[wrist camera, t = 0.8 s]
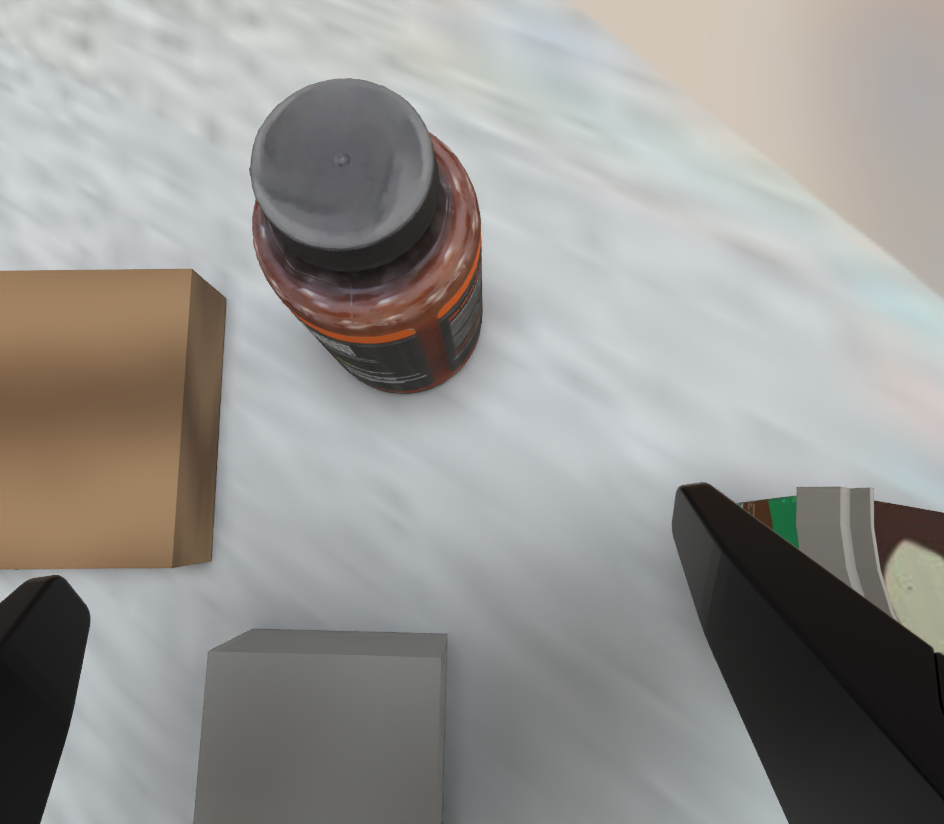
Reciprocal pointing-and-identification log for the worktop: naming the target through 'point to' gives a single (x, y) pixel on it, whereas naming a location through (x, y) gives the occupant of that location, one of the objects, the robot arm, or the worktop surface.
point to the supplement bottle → (369, 233)
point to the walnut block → (108, 417)
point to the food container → (869, 549)
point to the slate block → (323, 729)
